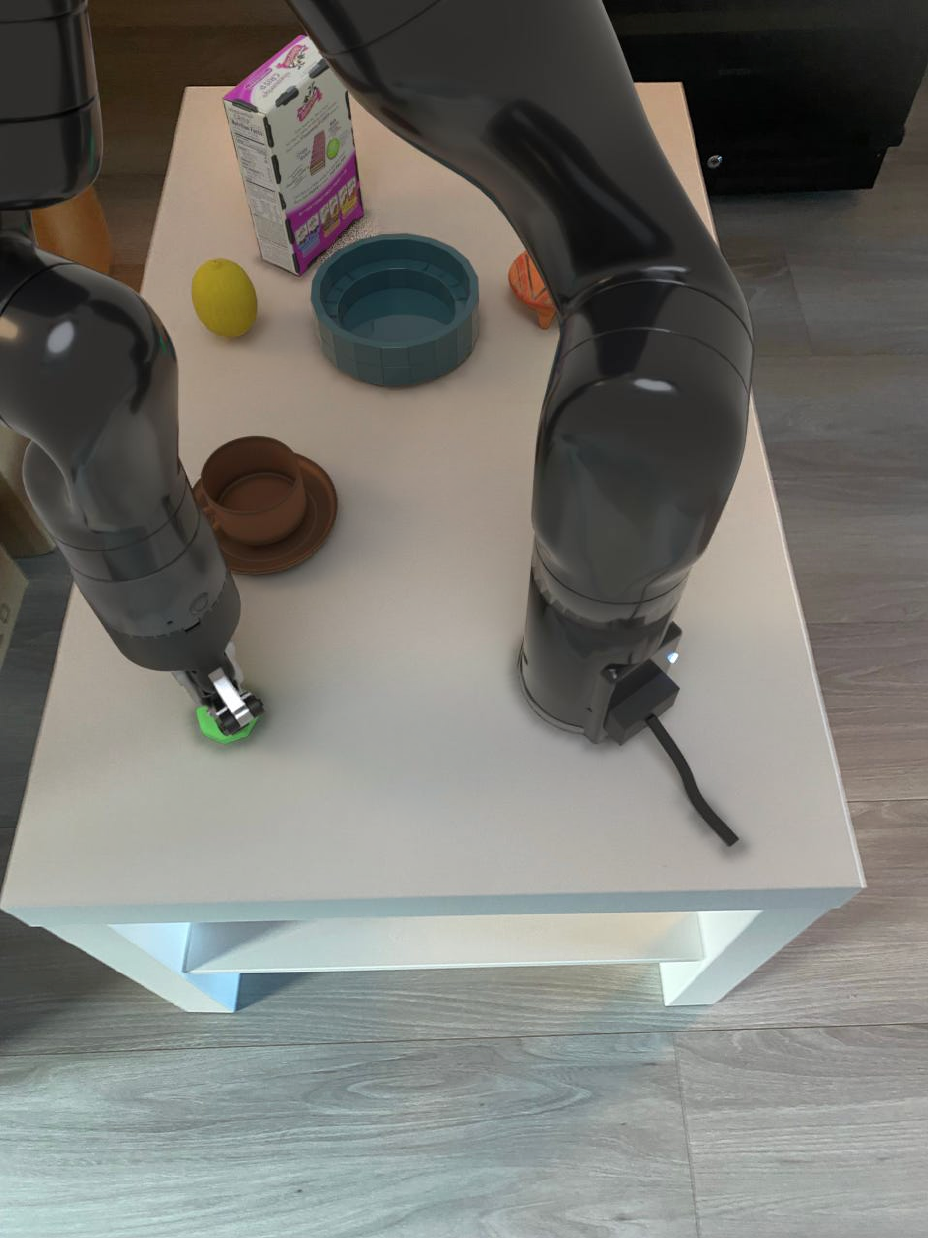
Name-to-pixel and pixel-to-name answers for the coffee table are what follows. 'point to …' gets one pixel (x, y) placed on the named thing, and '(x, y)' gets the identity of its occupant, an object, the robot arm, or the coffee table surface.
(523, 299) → the pot
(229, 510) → the cup and saucer
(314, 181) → the candy bar box
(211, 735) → the game piece
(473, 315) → the bowl
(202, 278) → the lemon
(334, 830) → the coffee table surface
